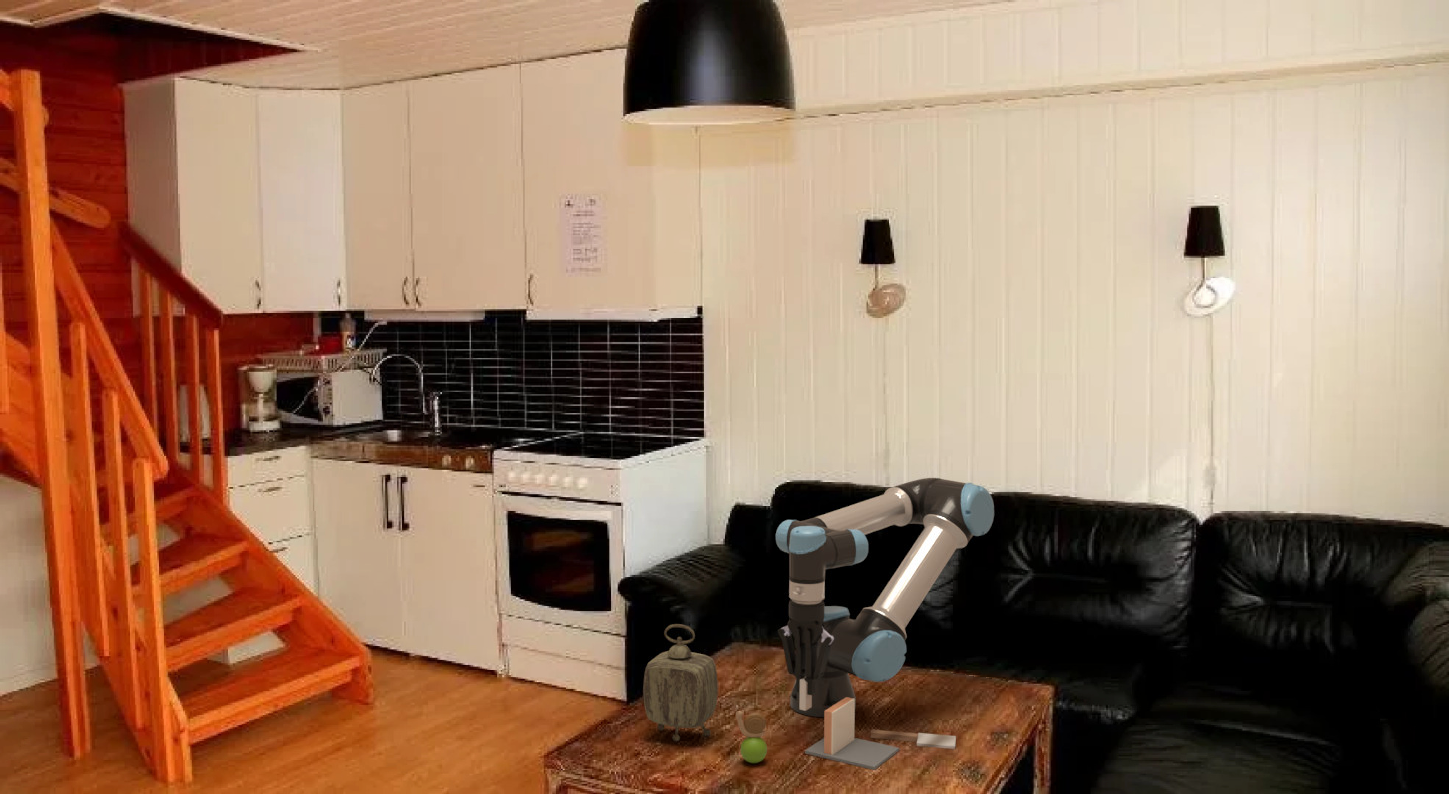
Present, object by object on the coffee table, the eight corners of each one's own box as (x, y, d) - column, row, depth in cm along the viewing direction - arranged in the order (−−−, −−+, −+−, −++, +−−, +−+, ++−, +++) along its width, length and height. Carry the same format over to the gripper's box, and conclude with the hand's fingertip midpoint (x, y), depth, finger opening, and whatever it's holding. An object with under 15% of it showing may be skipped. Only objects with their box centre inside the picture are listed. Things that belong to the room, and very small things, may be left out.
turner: (869, 741, 258) (869, 736, 258) (872, 731, 264) (872, 726, 264) (955, 749, 254) (955, 743, 254) (955, 738, 260) (956, 733, 260)
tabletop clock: (717, 734, 262) (717, 622, 260) (703, 750, 253) (703, 633, 251) (656, 726, 267) (655, 616, 264) (640, 741, 258) (639, 627, 256)
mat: (804, 753, 251) (804, 750, 251) (831, 735, 261) (831, 732, 261) (874, 770, 243) (874, 767, 243) (899, 750, 253) (899, 747, 253)
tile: (824, 753, 250) (824, 711, 249) (845, 737, 258) (846, 697, 258) (832, 755, 249) (833, 712, 248) (854, 739, 257) (854, 698, 256)
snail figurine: (734, 757, 249) (734, 701, 248) (765, 756, 250) (765, 700, 249) (737, 768, 244) (737, 710, 243) (768, 767, 244) (768, 709, 243)
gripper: (771, 599, 255) (770, 707, 258) (825, 608, 248) (824, 719, 251) (788, 592, 262) (787, 697, 264) (842, 600, 255) (840, 709, 257)
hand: (805, 708), depth 257 cm, fingers closed
